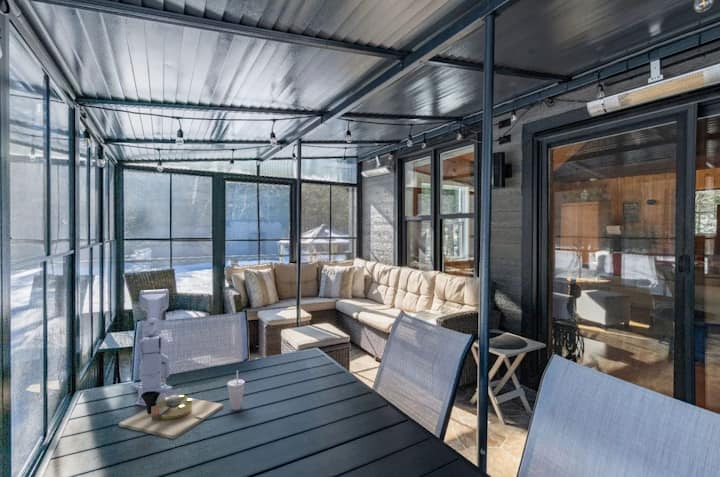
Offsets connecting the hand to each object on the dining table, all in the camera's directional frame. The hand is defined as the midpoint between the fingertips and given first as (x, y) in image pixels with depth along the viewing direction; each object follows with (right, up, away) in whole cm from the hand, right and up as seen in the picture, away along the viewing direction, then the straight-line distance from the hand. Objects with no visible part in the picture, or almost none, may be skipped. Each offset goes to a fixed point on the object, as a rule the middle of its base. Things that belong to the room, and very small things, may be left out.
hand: (151, 412), depth 129 cm
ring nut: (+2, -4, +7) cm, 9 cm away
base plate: (+3, -6, +10) cm, 12 cm away
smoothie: (+23, -6, +17) cm, 29 cm away
